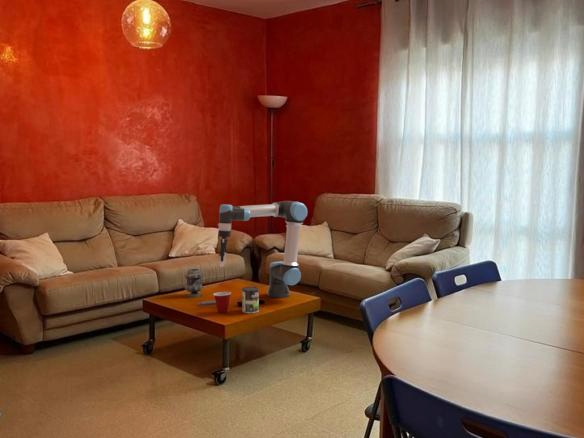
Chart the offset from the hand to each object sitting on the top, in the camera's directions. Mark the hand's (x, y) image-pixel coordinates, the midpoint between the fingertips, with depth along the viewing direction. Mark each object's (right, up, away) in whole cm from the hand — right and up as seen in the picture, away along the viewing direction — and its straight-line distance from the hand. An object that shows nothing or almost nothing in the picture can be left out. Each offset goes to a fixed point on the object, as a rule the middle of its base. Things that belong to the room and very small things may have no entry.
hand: (222, 264), depth 334 cm
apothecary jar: (-24, -24, +38) cm, 51 cm away
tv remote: (-9, -27, +18) cm, 34 cm away
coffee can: (+17, -29, +2) cm, 33 cm away
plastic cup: (0, -29, -1) cm, 29 cm away
